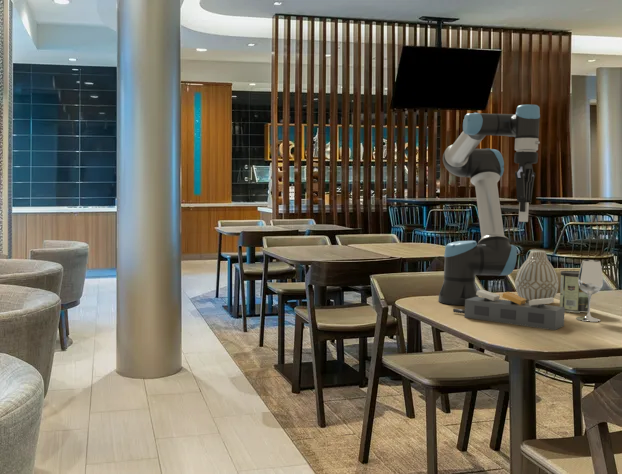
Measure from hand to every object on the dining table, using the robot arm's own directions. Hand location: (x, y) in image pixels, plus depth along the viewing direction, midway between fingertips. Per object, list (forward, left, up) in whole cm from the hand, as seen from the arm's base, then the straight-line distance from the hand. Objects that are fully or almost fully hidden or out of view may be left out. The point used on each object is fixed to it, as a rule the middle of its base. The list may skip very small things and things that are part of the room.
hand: (523, 221), depth 229 cm
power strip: (-1, -11, -32) cm, 34 cm away
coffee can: (+11, +25, -33) cm, 43 cm away
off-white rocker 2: (+11, -11, -25) cm, 29 cm away
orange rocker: (+2, -11, -25) cm, 27 cm away
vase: (-6, +34, -33) cm, 47 cm away
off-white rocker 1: (-7, -11, -25) cm, 28 cm away
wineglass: (+20, +10, -33) cm, 40 cm away
